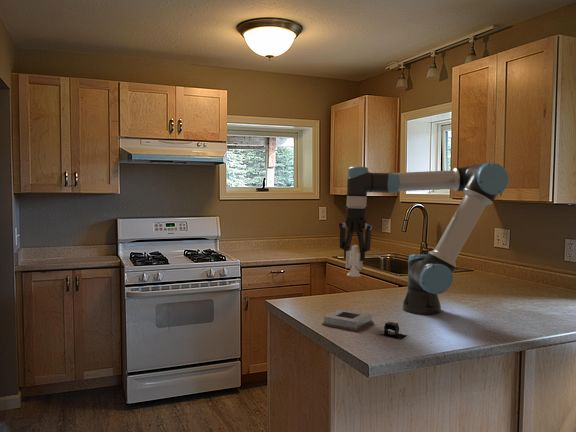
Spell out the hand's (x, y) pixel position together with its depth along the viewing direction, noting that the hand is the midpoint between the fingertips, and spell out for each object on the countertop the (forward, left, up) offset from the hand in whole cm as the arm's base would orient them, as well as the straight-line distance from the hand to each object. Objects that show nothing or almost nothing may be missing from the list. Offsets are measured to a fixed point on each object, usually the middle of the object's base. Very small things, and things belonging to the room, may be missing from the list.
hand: (353, 268), depth 190 cm
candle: (0, 0, -3) cm, 3 cm away
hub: (-2, +8, -19) cm, 21 cm away
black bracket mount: (-20, +12, -20) cm, 31 cm away
